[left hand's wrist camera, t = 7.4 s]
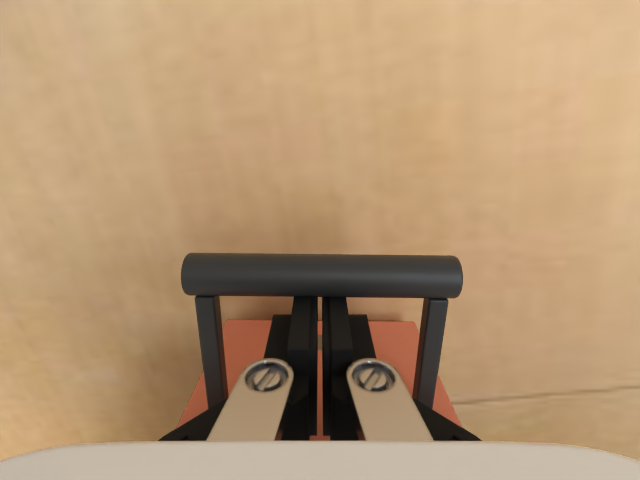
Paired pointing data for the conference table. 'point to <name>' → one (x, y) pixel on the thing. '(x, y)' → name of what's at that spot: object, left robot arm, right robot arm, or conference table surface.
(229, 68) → the conference table surface
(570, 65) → the conference table surface
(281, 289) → the drawer
